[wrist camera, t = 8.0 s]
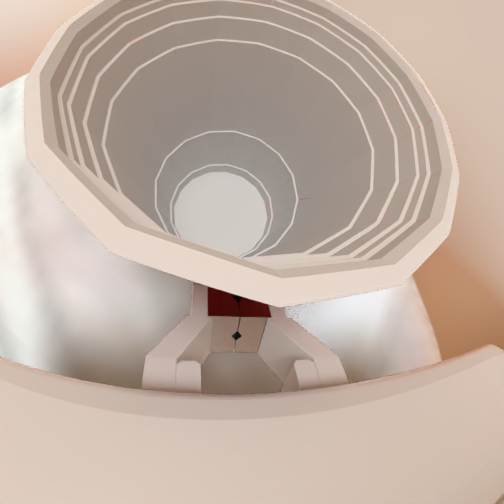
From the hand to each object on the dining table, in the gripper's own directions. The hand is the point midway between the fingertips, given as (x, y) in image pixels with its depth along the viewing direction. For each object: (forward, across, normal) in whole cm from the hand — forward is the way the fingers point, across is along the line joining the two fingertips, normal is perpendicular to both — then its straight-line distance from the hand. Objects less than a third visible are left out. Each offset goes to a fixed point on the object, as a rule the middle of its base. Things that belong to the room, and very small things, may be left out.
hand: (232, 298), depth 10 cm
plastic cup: (+7, 0, 0) cm, 7 cm away
